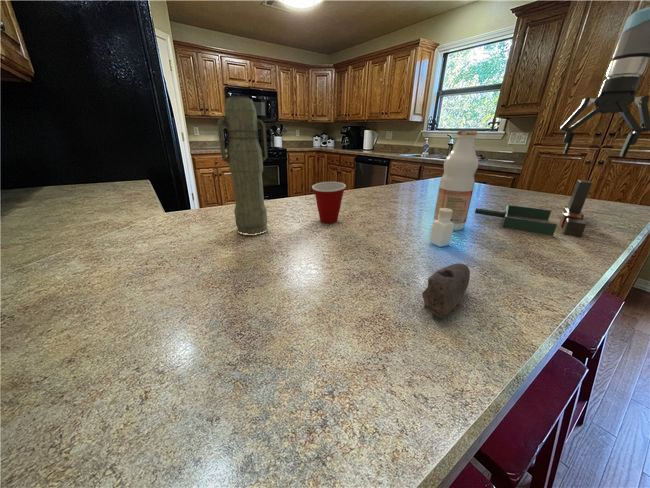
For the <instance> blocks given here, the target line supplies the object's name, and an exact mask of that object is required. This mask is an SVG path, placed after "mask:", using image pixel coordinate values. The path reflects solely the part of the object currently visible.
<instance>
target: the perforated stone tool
mask: <svg viewBox="0 0 650 488" xmlns="http://www.w3.org/2000/svg"><path fill="white" fill-rule="evenodd" d="M470 278H471V271H470V267H469V266H468V265H466V264H464V263H453V264H450V265H447V266H445V267H442V268H440V269H439V270H436V271H435V272H434V273H432V275H430V276H429V277H428V278H427V287H426V288H425V289H424V290H423V291H422V293H421V295H422V296H421V297H422V299H423V302H424V303H423V304H424V305H423V306H424V308H425V309H426V310H428V312H429V313H432V314H433V315H434V316H436V317H437V318H439V319H442V318H444V317H446V316H447V315H448V314H449V313H451V312H452V311H453V310H454V309H455V307H456V306H457V305H458V304H459V302H461V300H462V298H463V296H464V295H465V293H466V290H467V289H468V286H469V283H470Z"/></svg>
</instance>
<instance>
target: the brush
mask: <svg viewBox="0 0 650 488" xmlns="http://www.w3.org/2000/svg"><path fill="white" fill-rule="evenodd" d="M592 185H593V182H592V181H590V180H586V179H577V180H576V183H575V186H574V188H573V191H572V194H571V196H570V198H569V202H568V205H563V207H562V209H561V210H562V212H561V215H562V216H563V213H570V214H577V215H580V216H581V217H582V219H581V220H583V219H584V217H585V214H584V213H583V212H582V210H583V207H584V204H585V203H586V199H587V197H588V195H589V192H590V190H591V187H592Z"/></svg>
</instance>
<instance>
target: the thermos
mask: <svg viewBox="0 0 650 488" xmlns="http://www.w3.org/2000/svg"><path fill="white" fill-rule="evenodd" d="M224 115H225V116H223V117H219V119H218V121H217V123H216V127H217V134H218V142H219V148H220V149H219V150H220V155H221V160H222V162H224V163H225V162H226V163H227V164H228V168H229V171H230V174H231V178H232V185H233V186H232V187H233V194H234V202H235V207H234V218H235V219H234V220H235V225H236V228H237V234H238V236H239V235H240V236H242V237H259V236H262V235H265V234H266V233H267V232H268V209H267V207H266V205H265V197H264V184H263V172H264V161H265V162H266V160H267V159H269V155H268V153H269V152H268V140H267V139H268V137H267V128H266V127H267V126H266V124H265V122H264V120H263V119H260V118H258V116H257V115H258V114H257V109H256V105H255V103H254V100H253V99H252V98H250V97H249V96H245V95H232V96H231V95H230V96H229V97H227V98H226V100H225V105H224ZM223 123H225V125H226V131H227V134H228V135H227V136H228V137H227V141H228V143H227V148H225V147H226V146H225V140H224V139H225V138H224V131H223ZM258 124H259V125H258ZM258 126H260V137H261V144H260V141H259V137H258V132H259V128H258ZM226 153H227V155H226ZM266 229H267V231H266V232H264V233H261V234H257V235H243V234H240V233H238V231H239V232H242V233H248V234H255V233H260V232H263V231H265V230H266Z"/></svg>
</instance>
